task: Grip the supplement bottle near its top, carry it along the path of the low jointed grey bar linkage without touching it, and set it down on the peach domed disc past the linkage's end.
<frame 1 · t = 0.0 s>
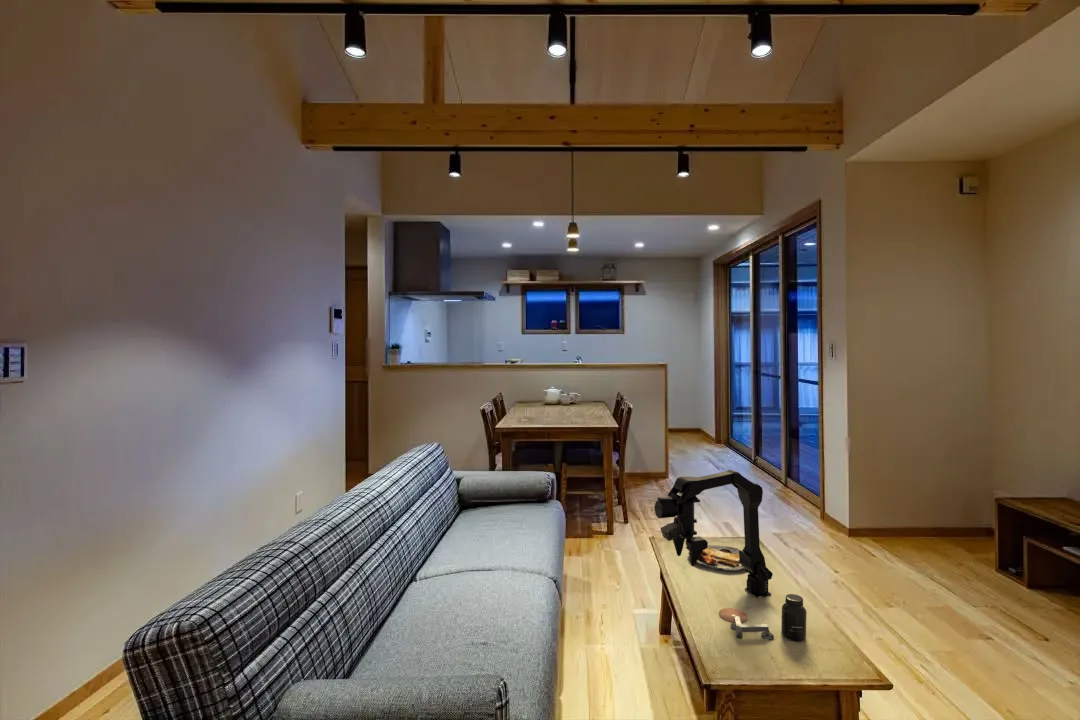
hand: (685, 560, 189), 15 cm above the table, fingers open, 9 cm apart
jointed grey bar linkage: (739, 637, 168), on the table
food plate: (720, 561, 226), on the table
peach domed disc: (733, 615, 181), on the table
supplement bottle: (793, 637, 168), on the table
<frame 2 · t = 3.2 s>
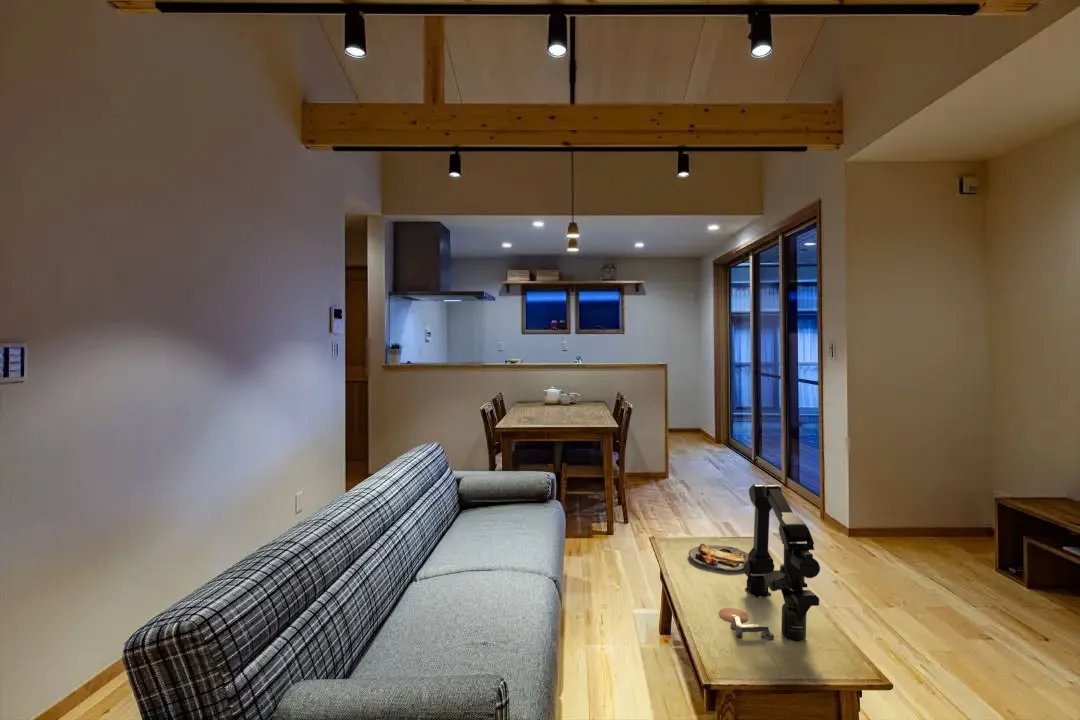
hand: (793, 615, 168), 7 cm above the table, fingers closed on supplement bottle, 7 cm apart
supplement bottle: (793, 637, 168), on the table, touching gripper
everything else where it was.
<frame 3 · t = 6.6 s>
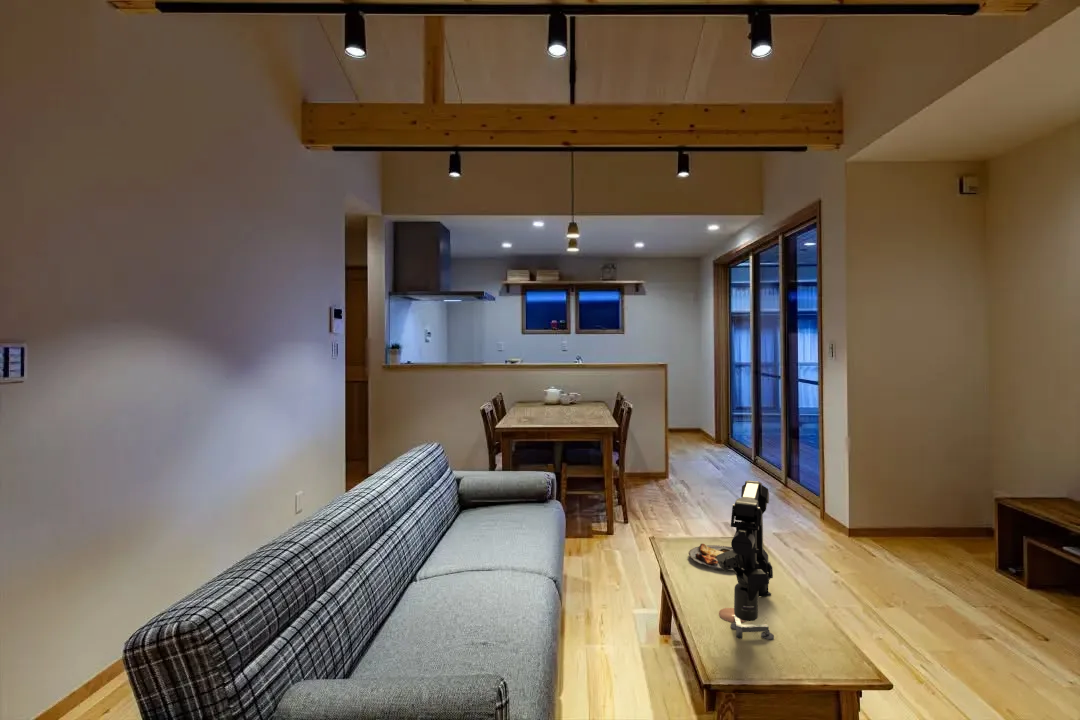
hand: (746, 595, 167), 13 cm above the table, fingers closed on supplement bottle, 7 cm apart
supplement bottle: (746, 616, 168), point 6 cm above the table, touching gripper
everything else where it was.
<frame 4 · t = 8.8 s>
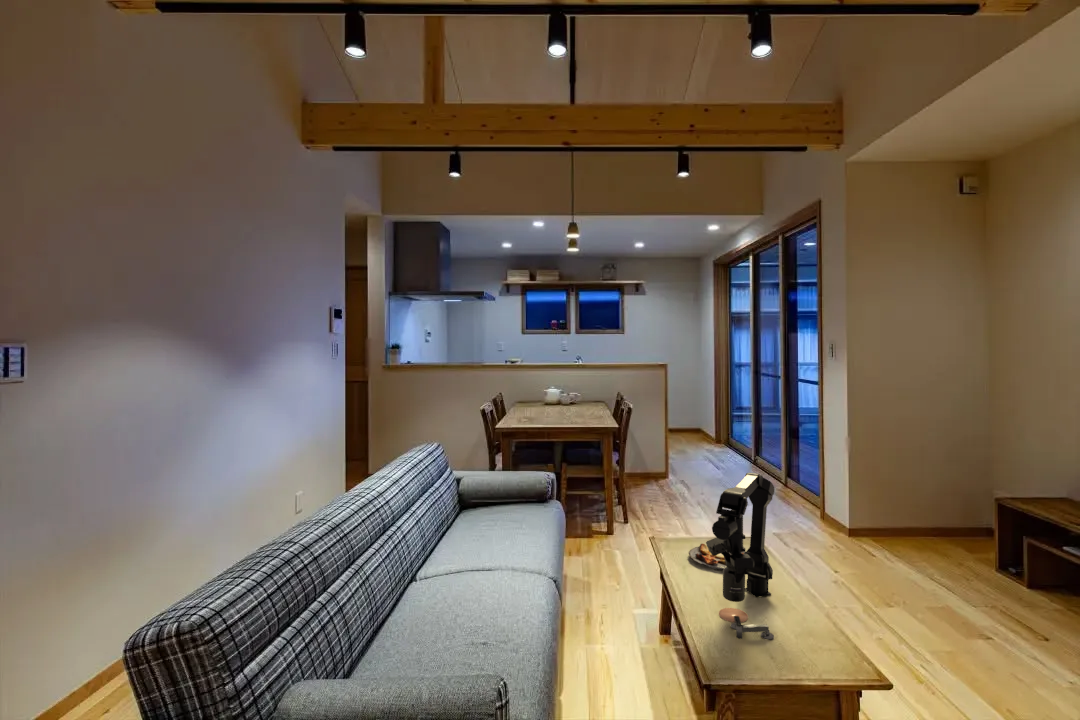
hand: (733, 577, 180), 13 cm above the table, fingers closed on supplement bottle, 7 cm apart
supplement bottle: (733, 598, 180), point 6 cm above the table, touching gripper
everything else where it was.
when the fingers open (8 cm above the table, at t = 10.5 s): supplement bottle drops 1 cm, resting on peach domed disc.
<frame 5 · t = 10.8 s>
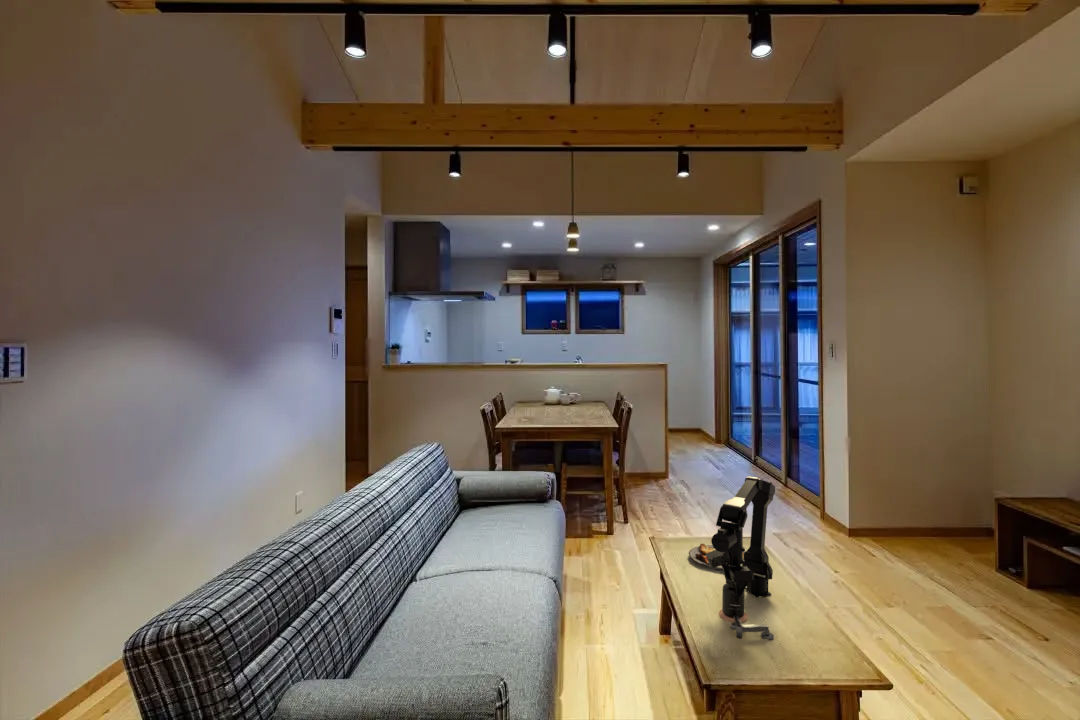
hand: (733, 590, 181), 8 cm above the table, fingers open, 9 cm apart
supplement bottle: (733, 614, 181), resting on peach domed disc
everything else where it was.
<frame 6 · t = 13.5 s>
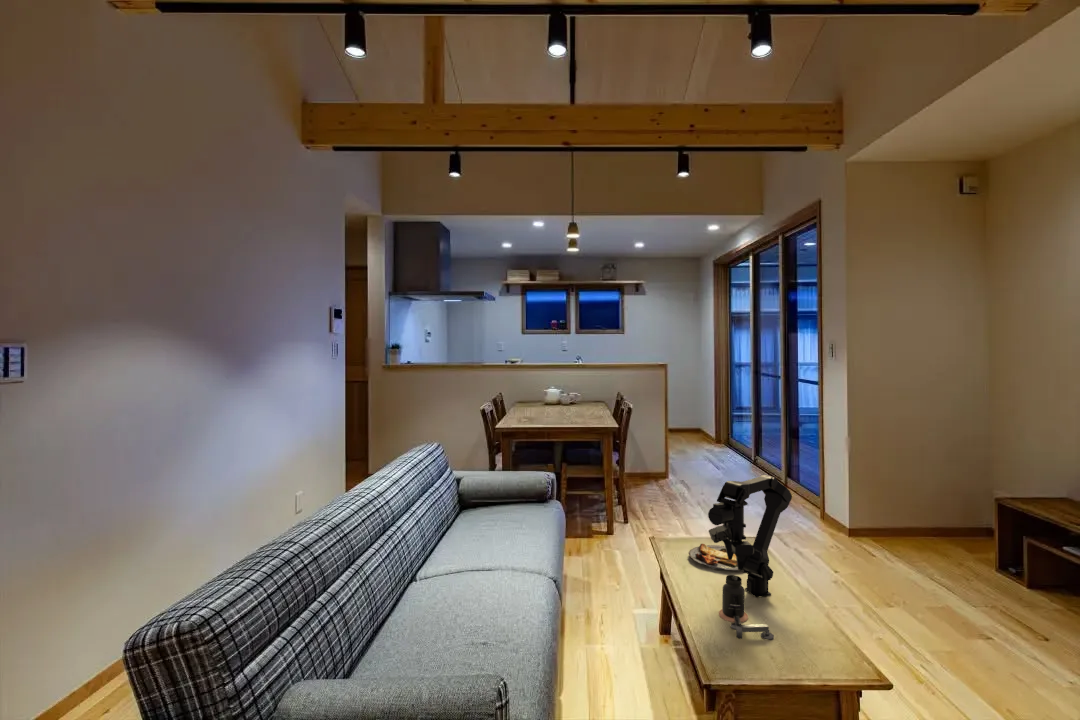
hand: (734, 564, 190), 13 cm above the table, fingers open, 9 cm apart
nothing on the table moved.
at the end: supplement bottle 0.4 cm off-centre on the peach domed disc, point 0.2 cm above the peach domed disc's base; supplement bottle tilted 0°; supplement bottle touching peach domed disc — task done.
